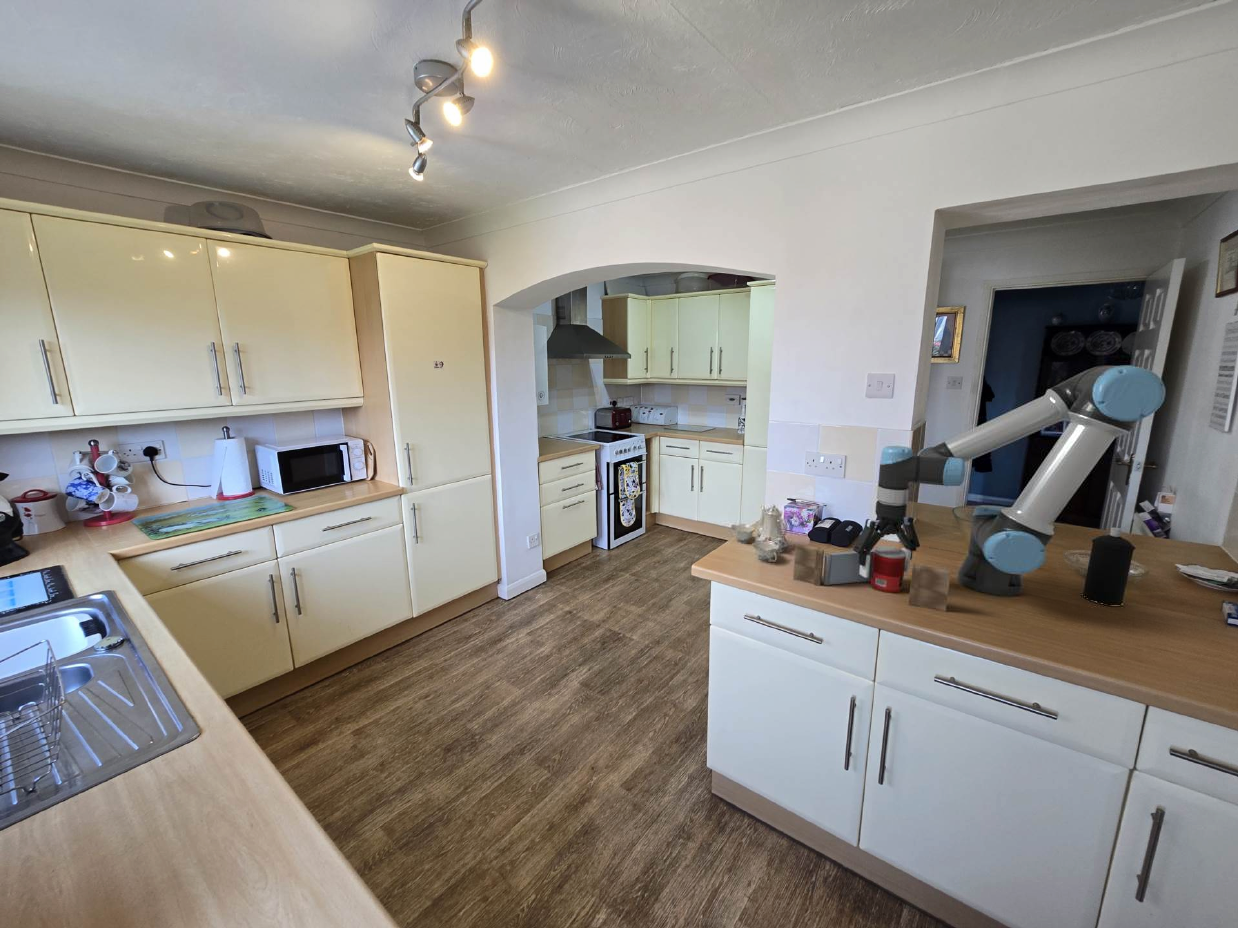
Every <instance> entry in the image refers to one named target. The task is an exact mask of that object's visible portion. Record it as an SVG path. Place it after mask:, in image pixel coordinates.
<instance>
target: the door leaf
mask: <svg viewBox="0 0 1238 928" xmlns="http://www.w3.org/2000/svg"><path fill="white" fill-rule="evenodd" d="M873 554H874V549H872V550H871V551H870V552H869V554H868V555H870V564H869V574H868V578H865V577H864V576H862V575H860V574H859V571H860V564H859V553H857V552H855V551H845V552H844V551H843V552H842V551H841V552H833V553H832V552H830V553H828V552H827V553H824V562H823V567H824V568H823V575H822V584H823V585H825V586H829V585H838V584H840V585H841V584H849V583H850V584H851V583H860V582H871V574H872V564H873Z"/></svg>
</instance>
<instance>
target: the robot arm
mask: <svg viewBox="0 0 1238 928" xmlns="http://www.w3.org/2000/svg"><path fill="white" fill-rule="evenodd" d="M1165 397H1166V386H1165V384H1164V381H1163V379H1162V378H1161V377H1160V376H1159V375H1158V374H1156V373H1155V372H1153V371H1151V370H1150V369H1147V368H1143V367H1140V366H1134V365H1128V364H1127V365H1126V364H1124V365H1111V364H1110V365H1100V366H1099V365H1098V366H1094V367H1092V368H1089V369H1086V370H1084V371H1083V372H1080V373H1077V375H1073V377H1070V378H1068V379H1067V380H1065V381H1062V382H1060V383H1059V384H1057V385H1054V386H1052V387H1050V388H1049V389H1047V390H1046V392H1045V394H1044V395H1043V396H1041V397H1038V398H1035V399H1034V400H1032V401H1029V402H1027V403H1025V404H1023V405H1021V406H1019V407H1017V408H1015V409H1012V410H1009V411H1008V412H1006V413H1004V414H1001V415H1000V416H997V417H995V418H992V419H991V420H988V421H986V422H984V423H982V424H980V425H978V426H975V427H973V428H972V429H969V430H967V431H964V432H962V433H960V434H958V435H957V436H954V437H952V438H949V439H947V440H946V441H944V442H942V443H939V444H937V445H935V446H928V447H927V446H926V447H925V448H923V449H921V450H920V451H919V452H918V453H917V454H914V450H913V448H911V447H909V446H901V445H889V446H884V447H883V448H882V450H881V455H880V461H879V469H878V482H877V483H878V484H877V493H876V499H877V501H876V503H875V515H876V519H875V520H872V519H869V518H867V519H866V520H865V523H864V527H863V529H862V531H861V532H860V535H859V536H858V538H857V540H856V543H855V544H854V546H853V549H852V550H853V551H852V552H854V551H855V552H857V553H859V564H860V571H859V574H860V575H862V576H864V577H865V578H868V574H869V564H870V555H868V554H869V552H870V551H871V550H874V548H875V546H876V545H877V544H878V542H879V541H880V540H881V539H882V538H884V537H885V536H889V535H895V536H897V538H898V540H899V541H900V543H901V544H902V545H903V547H901V550H903V551H904V552H905V553H906V560H905V569H904V573H908V574H909V573H910V566H911V565H910V563H911V561H912V559H913V552H917V548H920V547H921V543H920V541H919V537H918V535H917V532H916V529H915V526H914V517H911V516H909V515H907V507H908V505H907V503H908V500H909V490H910V489H909V488H910V483H913V484H923V485H933V486H945V487H960V486H962V485H963V483H964V481H965V477H966V476H965V475H966V463H967V462H969V461H972V460H974V459H976V458H978V457H981V456H983V455H985V454H988V453H990V452H993V451H994V450H997V449H999V448H1002V447H1003V446H1006V445H1008V444H1011V443H1013V442H1016V441H1018V440H1021V439H1022V438H1025V437H1027V436H1029V435H1032V434H1034V433H1036V432H1039V431H1041V430H1043V429H1045V428H1048V427H1050V426H1052V425H1055V424H1057V423H1059V422H1063V421H1066V422H1069V423H1068V425H1067V426H1066V428H1065V429H1064V431H1063V432H1062V434H1061V435H1060V437H1059V438H1058V440H1057V441H1056V442H1055V444H1054V446H1053V447H1052V449H1051V450H1049V451H1050V452H1048V454H1047V456H1046V457H1045V459H1044V460H1043V461H1042V463H1041V464H1040V466H1039V467H1038V469H1037V470H1036V471H1035V473H1034V475H1033V476H1032V478H1031V479H1030V480H1029V481H1028V483H1027V485H1026V486H1025V487H1024V489H1023V490H1022V491H1021V493H1020V495H1019V496H1018V498H1017V499H1016V500H1015V502H1014V504H1013V505H1012V506H1010V507H1008V506H1000V505H988V504H987V505H985V504H984V505H981V504H980V505H978V506H976V507H975V508H974V511H973V514H972V523H971V529H970V530H971V531H970V536H969V545H968V552H967V555H966V557H965V559H964V560H963V562H962V563H961V565H960V567H959V568H958V571H957V576H956V578H957V580H958V582H959V583H960V584H962V585H964V586H965V587H968V588H970V589H972V590H974V591H978V592H981V593H985V594H990V595H994V596H1003V597H1005V596H1006V597H1009V596H1010V597H1011V596H1019V595H1021V594H1022V593H1023V589H1024V579H1023V577H1022V575H1024V574H1029V573H1031V572H1034V571H1036V570H1038V568H1040V567H1041V566H1042V565H1043V563H1044V562H1045V561H1046V556H1047V555H1046V553H1047V552H1046V548H1045V547H1046V546H1047V545H1048V543H1049V542H1050V541H1051V539H1052V538H1053V537H1054V535H1055V532H1054V530H1053V529H1054V528H1053V526H1052V525H1053V523H1054V522H1055V521H1056V520H1057V517H1058V516H1059V515H1060V514H1061V513H1062V511H1064V508H1065V507H1066V505H1068V503H1069V501H1070V500H1071V499H1072V497H1073V496H1074V494H1075V493H1076V492H1077V491H1078V489H1079V488H1080V487H1081V485H1082V483H1083V482H1084V481H1085V480H1086V478H1087V477H1088V476H1089V474H1090V473H1091V471H1092V470H1093V469H1094V467H1095V466H1096V465H1097V463H1098V462H1099V460H1100V459H1101V458H1102V457H1103V455H1104V454H1105V453H1106V451H1107V449H1108V448H1109V447H1110V445H1111V444H1112V442H1113V441H1114V440H1115V439H1116V438H1117V437H1121V436H1124V435H1128V434H1130V432H1131V431H1132V429H1133V428H1134V427H1136V425H1137V423H1138V422H1139V420H1143V419H1145V418H1147V417H1149V416H1151V415H1152V414H1154V413H1155V412H1156V411H1157V410H1158V409H1160V407H1161V406H1162V404H1163V403H1164V401H1165ZM902 526H903V527H902ZM903 528H904V529H903Z"/></svg>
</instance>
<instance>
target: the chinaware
mask: <svg viewBox="0 0 1238 928" xmlns="http://www.w3.org/2000/svg"><path fill="white" fill-rule="evenodd" d="M760 508H761V516H760V518H759V521H758V526H757V534H756V536H755V537H754V540H755V541H754V542H752V543H751V544H750V545H751V547H753V551H754V554H755V556H756V557H757V558H759V561H760V562H764V563H768V562H776V561H777V556H778V555H777V554H780V553H783V552H784V550H785V548H786V547H788V544H789V543H788V540H787V538H786V536H787V534H788V524H787V522H786V521H785V519H784V518H782V515H783V514H784V512H783V511H782V510H780V509H778V508H777V507H776V505H775V504H774V503H773V504H771V505H770V507H768V508H765V506H762V505H761V506H760ZM782 524H783V527H784V530H782ZM755 527H756V526H753V525H748V524H745V523H739V524H738V525H737V524H732V525H731V528H730V529H731V531H732V534H733V536H734V538H736V539H737V542H738V543H740V544H746V543H748V542H749V540H750V539H752V537H753V534H754V532H755V531H756V528H755ZM783 531H784V532H783ZM737 536H738V537H737ZM773 558H775V559H773Z"/></svg>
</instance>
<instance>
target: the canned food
mask: <svg viewBox="0 0 1238 928" xmlns="http://www.w3.org/2000/svg"><path fill="white" fill-rule="evenodd" d="M873 550H874V554H873V564H872V574H871V581H870V583H871V586H872V588H874V589H875V590H878V591H880V592H884V593H888V594H889V593H890V594H895V593H900V592H901V591H902V589H903V584H904V578H905V577H904V576H905V572H904V569H905V560H906V553H905V552H904V551H903V550H902V549H900V548H897V547H892V546H886V545H880V546H876V547H873Z"/></svg>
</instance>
